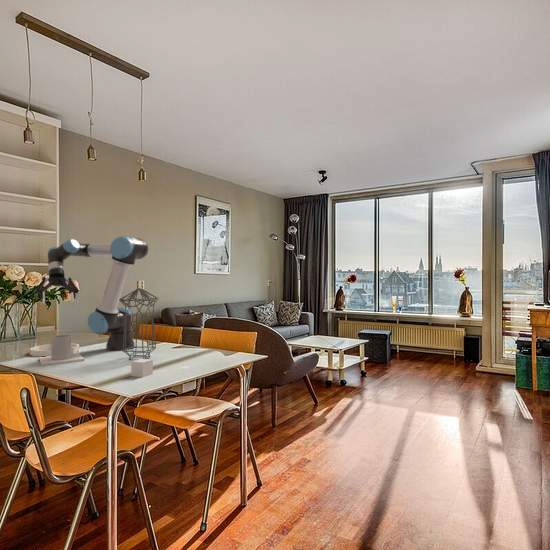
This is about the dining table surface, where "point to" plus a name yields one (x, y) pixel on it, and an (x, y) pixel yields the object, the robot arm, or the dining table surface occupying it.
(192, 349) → the dining table surface
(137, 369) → the pale pink cube
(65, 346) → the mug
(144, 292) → the geometric lantern
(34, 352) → the white plate
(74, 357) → the mat
